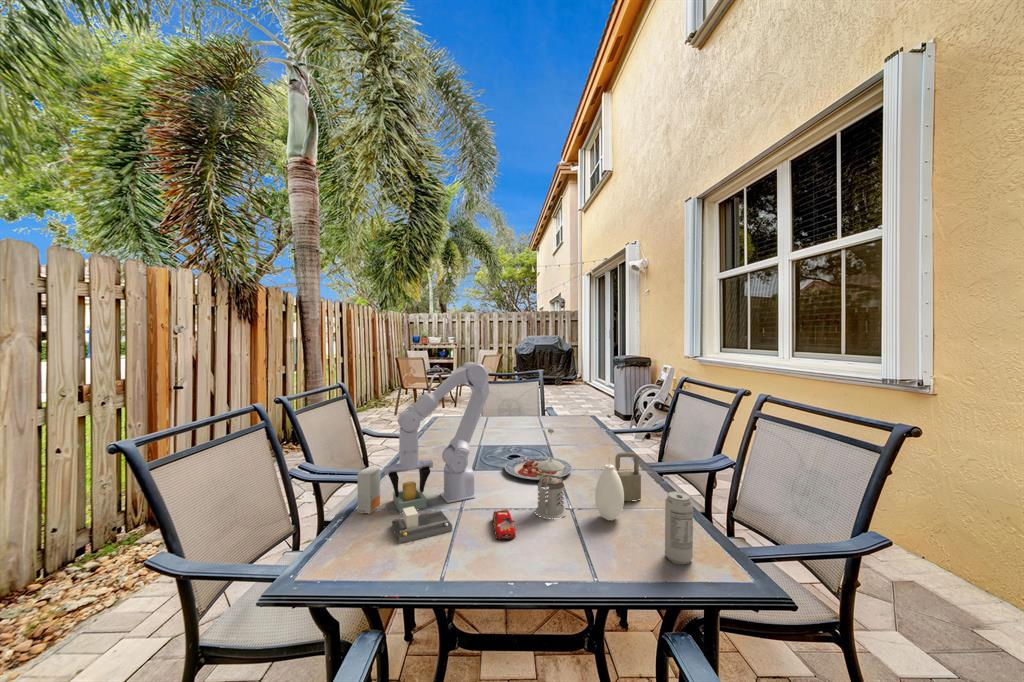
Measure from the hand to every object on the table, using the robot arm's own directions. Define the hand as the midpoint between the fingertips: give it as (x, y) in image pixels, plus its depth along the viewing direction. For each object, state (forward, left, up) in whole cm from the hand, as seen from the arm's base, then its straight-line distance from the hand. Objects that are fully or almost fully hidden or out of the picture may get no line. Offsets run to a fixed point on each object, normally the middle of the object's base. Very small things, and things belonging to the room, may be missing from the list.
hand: (409, 493), depth 124 cm
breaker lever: (+4, +17, -2) cm, 17 cm away
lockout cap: (0, 0, -3) cm, 3 cm away
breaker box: (0, +17, -3) cm, 17 cm away
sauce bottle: (-48, +36, -4) cm, 61 cm away
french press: (-36, +25, -4) cm, 44 cm away
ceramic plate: (-50, -7, -4) cm, 51 cm away
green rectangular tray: (0, 0, -3) cm, 3 cm away
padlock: (-62, +28, -4) cm, 69 cm away
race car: (-19, +27, -4) cm, 34 cm away
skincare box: (+12, -2, -4) cm, 12 cm away
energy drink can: (-50, +59, -4) cm, 77 cm away
